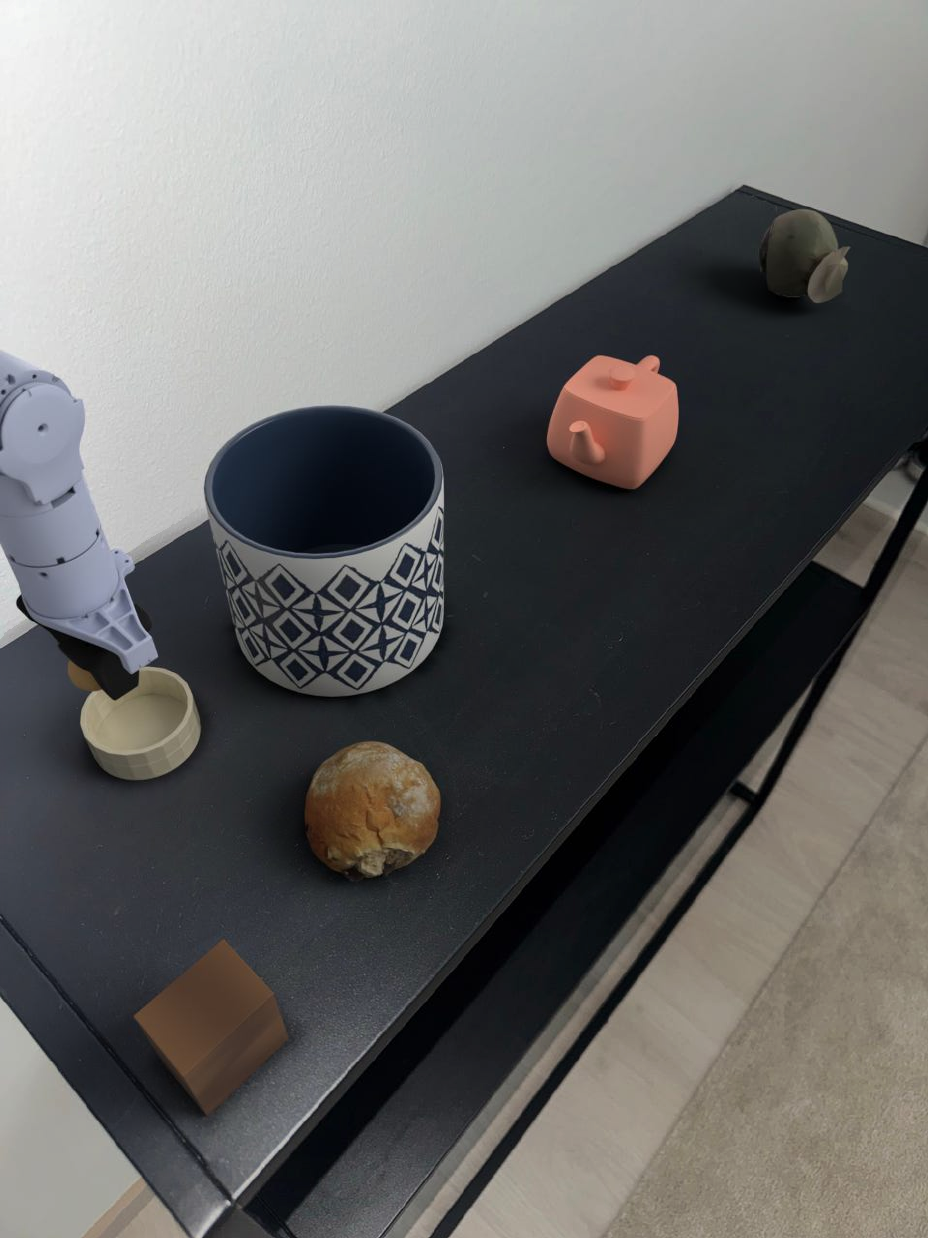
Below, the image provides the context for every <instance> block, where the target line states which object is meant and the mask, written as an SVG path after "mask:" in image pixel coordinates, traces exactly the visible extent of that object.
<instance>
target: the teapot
mask: <svg viewBox="0 0 928 1238" xmlns="http://www.w3.org/2000/svg"><path fill="white" fill-rule="evenodd" d="M660 364H661V362H660V359H659V357H658V356H656V355H651V354H650V355H646V356H645V357H644V358H642V359H641V360H640V361H639V362H638V363H635V364H634V363H631V362H628V361H626V360H622V359H618V358H614V357H611V356H607V355H596V356H594V357H592V358H591V359H590V360H589V361H588V362H586V363H585V364H584V365H582V367H581V368H580V369H579V370H578V371H577V372H576V373H574V375H572V376H571V378H569V380H568V381H566V383H565V384H564V386H563V387H562V389H561V391H560V392H559V395H558V398H557V400H556V403H555V406H554V408H553V411H552V414H551V417H550V420H549V424H548V429H547V436H546V445H547V448H548V451H549V454H550V456H551V457H552V458H553V459H554V460H556V461H557V462H559V463H561V464H562V465H564V466H565V467H568V468H570V469H571V470H573V471H576V472H577V473H579V474H582V475H584V476H586V477H588V478H591V479H593V480H596V481H599V482H602V483H605V484H608V485H611V486H615V487H618V488H621V489H627V490H635V489H637V488H639V487H640V486H641V485H642V484H643V483H645V482H646V480H647V479H648V478H649V477H650V476H651V475H653V473H654V472H655V471H656V469H657V468H658V467H659V466H660V465H661V463H662V462H663V460H664V459H665V458H666V457H667V455H668V454H669V452H670V451H671V450H672V447H673V446H674V444H675V442H676V438H677V435H678V426H679V411H680V410H679V398H678V390H677V389H678V388H677V385H676V383H675V382H674V381H673V380H672V379H670V378H668V377H666V376H664V375H662V374H660V373H658V372H659V369H660Z"/></svg>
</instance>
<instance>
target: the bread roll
mask: <svg viewBox="0 0 928 1238" xmlns="http://www.w3.org/2000/svg"><path fill="white" fill-rule="evenodd" d="M441 803H442V802H441V793H440V790H439V788H438V787H437V784H436V783H435V781H434V780H433V778H432V775H431V774H430V772H429V771H428V770H427V769H426V767H425V766H424V764H423V763H421V762H419V761H417V760H415V759H413V758H411V757H409V756H408V755H407V754H406V753H404V752H403V751H401V750H399V749H397V748H396V747H394V746H392V745H390V744H388V743H385V742H381V741H375V740H367V741H359V742H356V743H353V744H350V745H349V746H346V747H343V748H342V749H340V750H337V751H336V752H335V753H334V754H333V755H332V756H330V757H328V758H327V759H325V760H324V761H323V762H322V763H321V764H320V765H319V766H318V768H317V769H316V771H315V773H314V775H313V777H312V779H311V783H310V784H309V788H308V791H307V794H306V796H305V805H304V825H305V826H304V828H305V832H306V833H305V834H306V836H307V839H308V843H309V847H310V848H311V850H312V852H313V853H314V854H315V855H316V857H317V858H318V859H319V860H320V861H321V862H323V864H325V865H327V866H328V868H330V869H331V870H333V871H335V872H337V873H340V874H342V875H343V876H345V878H347V879H348V880H349V881H351V882H356V883H358V882H360V881H361V880H363V879H364V878H366V879H371V878H372V879H373V878H376V877H379V876H381V877H386V876H387V875H389V874H391V872H393V871H395V870H398V869H400V868H403V867H407V866H408V865H409V864H411V863H412V862H413V861H415V860H416V859H418V857H420V856H421V855H424V854H425V853H426V851H427V850H428V849H429V848H430V846H431V845H432V844H433V843H434V841H435V839H436V837H437V833H438V830H439V822H438V819H439V817H440V812H441Z"/></svg>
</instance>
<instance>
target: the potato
mask: <svg viewBox="0 0 928 1238" xmlns="http://www.w3.org/2000/svg"><path fill="white" fill-rule="evenodd" d="M67 674H68V676H69V679H70V681H71V683H72V684H73V685H75V687H77V688H78V689H80V690H82V691H85V692H93V691H99V690H102V689H101V687H100V686H99V685H98V683H97V682H96V680H95V679H94V678H93V676H92V675H91V673H90V672H88V671H85V670H83V669H81V668H80V667H78V666H77V665H75V664H74V663H73V662H72V661H71V660H70V659H68V663H67Z"/></svg>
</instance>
